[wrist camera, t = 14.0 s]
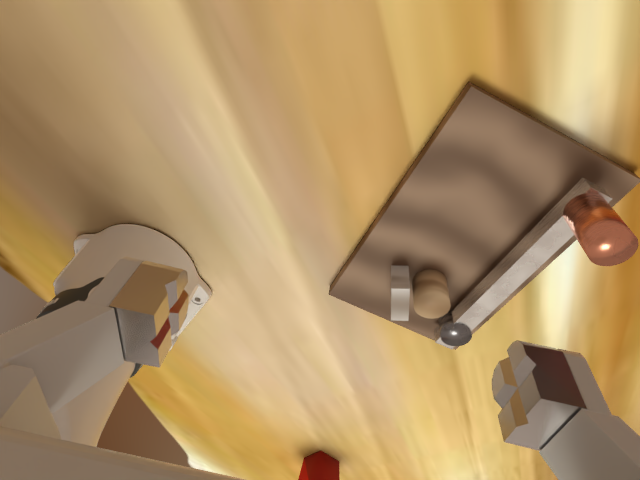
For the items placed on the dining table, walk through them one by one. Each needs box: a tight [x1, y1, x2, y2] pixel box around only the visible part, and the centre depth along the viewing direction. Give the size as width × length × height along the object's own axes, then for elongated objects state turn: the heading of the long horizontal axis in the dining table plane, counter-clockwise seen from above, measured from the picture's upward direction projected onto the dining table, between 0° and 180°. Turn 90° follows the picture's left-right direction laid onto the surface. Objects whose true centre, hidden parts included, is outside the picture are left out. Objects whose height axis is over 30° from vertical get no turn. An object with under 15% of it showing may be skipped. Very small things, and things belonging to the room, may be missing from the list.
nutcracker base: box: [329, 82, 640, 350], centre depth 45 cm, size 29×19×6 cm, turn 155°
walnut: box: [412, 269, 451, 319], centre depth 48 cm, size 4×4×4 cm
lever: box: [434, 177, 638, 349], centre depth 43 cm, size 24×4×8 cm, turn 156°
